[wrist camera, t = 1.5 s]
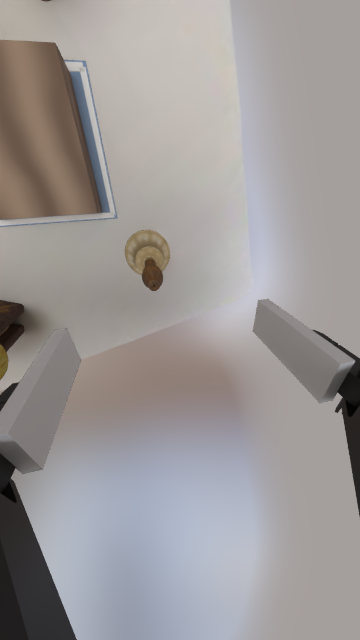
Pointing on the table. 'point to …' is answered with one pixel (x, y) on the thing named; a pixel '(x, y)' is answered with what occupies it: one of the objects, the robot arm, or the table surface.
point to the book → (8, 330)
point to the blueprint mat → (94, 147)
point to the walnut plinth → (41, 136)
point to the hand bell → (148, 256)
